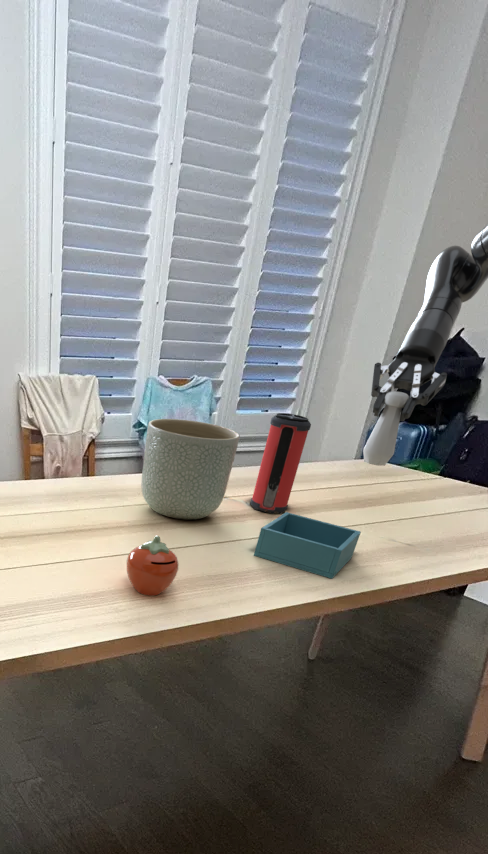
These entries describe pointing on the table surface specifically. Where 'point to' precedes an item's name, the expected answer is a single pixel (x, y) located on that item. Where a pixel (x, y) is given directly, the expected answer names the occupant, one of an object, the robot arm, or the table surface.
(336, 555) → the bin
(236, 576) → the table surface
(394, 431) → the salt shaker
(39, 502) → the table surface
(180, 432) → the planter
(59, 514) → the table surface
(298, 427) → the speaker
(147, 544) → the tomato
